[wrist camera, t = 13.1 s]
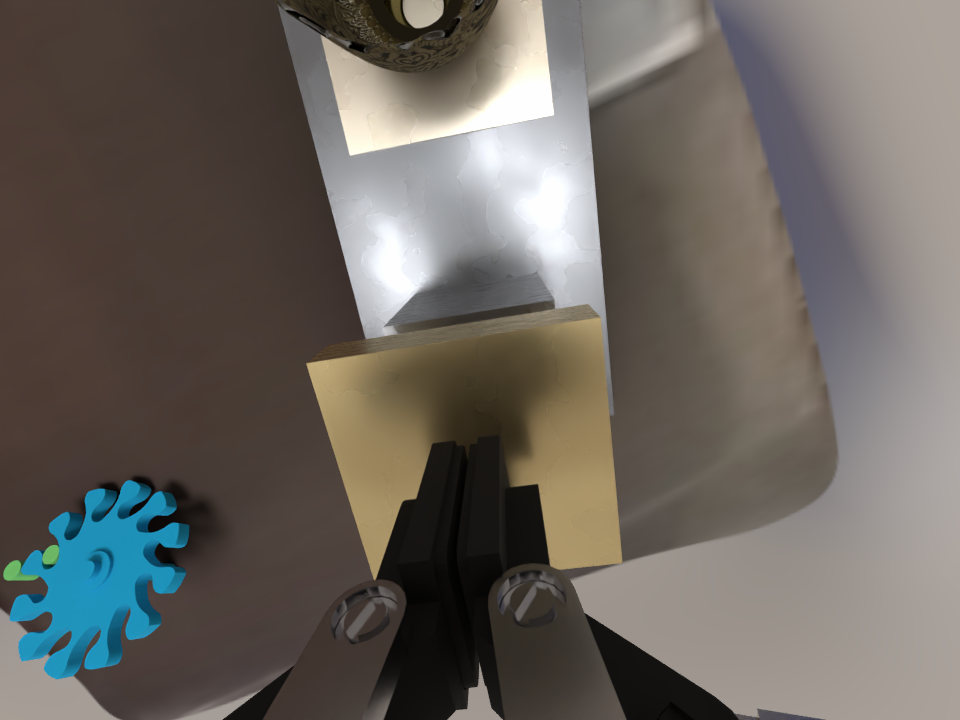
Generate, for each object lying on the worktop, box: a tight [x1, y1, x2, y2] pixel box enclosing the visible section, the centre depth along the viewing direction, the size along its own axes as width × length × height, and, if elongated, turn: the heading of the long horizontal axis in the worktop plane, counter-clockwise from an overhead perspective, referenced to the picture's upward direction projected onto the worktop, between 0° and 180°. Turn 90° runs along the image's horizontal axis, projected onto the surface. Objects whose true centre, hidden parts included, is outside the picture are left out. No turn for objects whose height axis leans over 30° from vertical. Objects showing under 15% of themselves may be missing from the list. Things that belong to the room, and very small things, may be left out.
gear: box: [4, 480, 189, 679], centre depth 27 cm, size 11×6×10 cm
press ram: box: [306, 304, 622, 580], centre depth 15 cm, size 7×7×8 cm
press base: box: [278, 0, 614, 416], centre depth 17 cm, size 26×12×8 cm, turn 10°
